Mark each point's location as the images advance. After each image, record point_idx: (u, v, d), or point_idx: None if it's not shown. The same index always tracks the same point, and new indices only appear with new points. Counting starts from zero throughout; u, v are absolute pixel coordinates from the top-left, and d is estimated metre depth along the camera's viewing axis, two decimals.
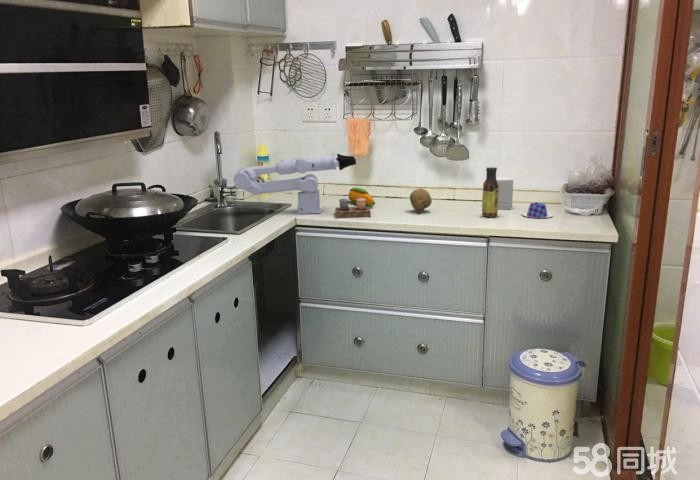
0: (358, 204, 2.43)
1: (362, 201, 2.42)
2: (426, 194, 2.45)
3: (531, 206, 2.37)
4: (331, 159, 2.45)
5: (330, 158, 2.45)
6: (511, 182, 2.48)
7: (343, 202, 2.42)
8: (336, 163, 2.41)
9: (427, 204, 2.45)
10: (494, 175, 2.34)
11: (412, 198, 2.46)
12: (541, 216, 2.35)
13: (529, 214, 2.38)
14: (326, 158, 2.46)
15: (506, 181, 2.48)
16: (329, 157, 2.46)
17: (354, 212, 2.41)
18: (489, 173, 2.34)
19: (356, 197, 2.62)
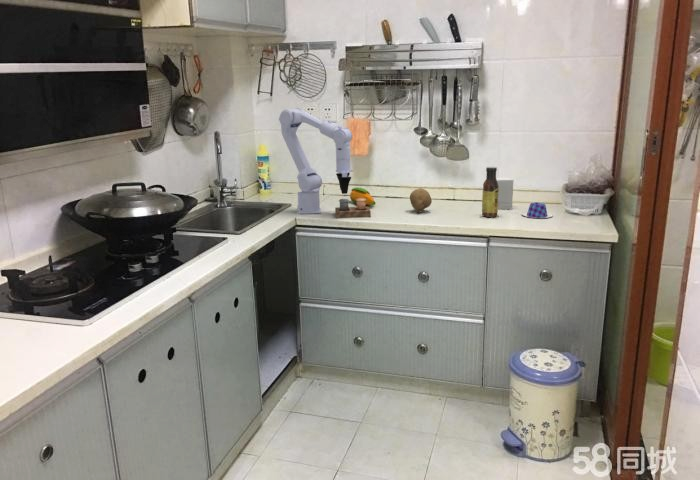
0: (358, 204, 2.43)
1: (362, 201, 2.42)
2: (426, 194, 2.45)
3: (531, 206, 2.37)
4: (347, 168, 2.38)
5: (348, 167, 2.38)
6: (511, 182, 2.48)
7: (343, 202, 2.42)
8: (345, 174, 2.33)
9: (427, 204, 2.45)
10: (494, 175, 2.34)
11: (412, 198, 2.46)
12: (541, 216, 2.35)
13: (529, 214, 2.38)
14: (348, 163, 2.38)
15: (506, 181, 2.48)
16: (349, 166, 2.39)
17: (354, 212, 2.41)
18: (489, 173, 2.34)
19: (357, 197, 2.63)
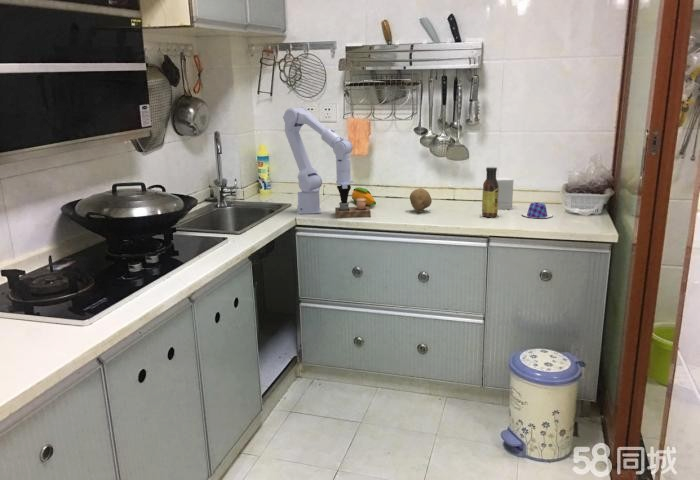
0: (358, 204, 2.43)
1: (362, 201, 2.42)
2: (426, 194, 2.45)
3: (531, 206, 2.37)
4: (348, 179, 2.39)
5: (348, 178, 2.39)
6: (511, 182, 2.48)
7: (343, 205, 2.42)
8: (346, 186, 2.35)
9: (427, 204, 2.45)
10: (494, 175, 2.34)
11: (412, 198, 2.46)
12: (540, 216, 2.35)
13: (528, 214, 2.38)
14: (349, 174, 2.39)
15: (506, 181, 2.48)
16: (349, 177, 2.40)
17: (354, 212, 2.41)
18: (489, 173, 2.34)
19: (358, 197, 2.63)
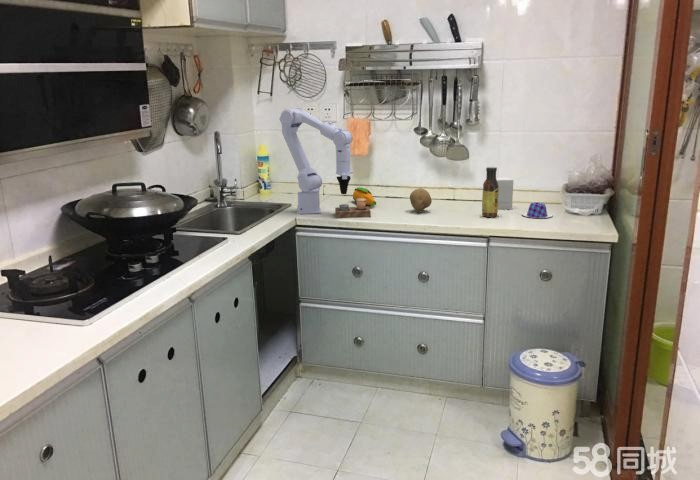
0: (358, 204, 2.43)
1: (362, 201, 2.42)
2: (426, 194, 2.45)
3: (530, 206, 2.37)
4: (347, 170, 2.38)
5: (348, 169, 2.38)
6: (511, 182, 2.48)
7: (343, 208, 2.42)
8: (345, 176, 2.34)
9: (427, 204, 2.45)
10: (494, 175, 2.34)
11: (412, 198, 2.46)
12: (540, 216, 2.35)
13: (528, 214, 2.38)
14: (349, 165, 2.38)
15: (506, 181, 2.48)
16: (349, 168, 2.39)
17: (354, 212, 2.41)
18: (489, 173, 2.34)
19: (358, 197, 2.63)
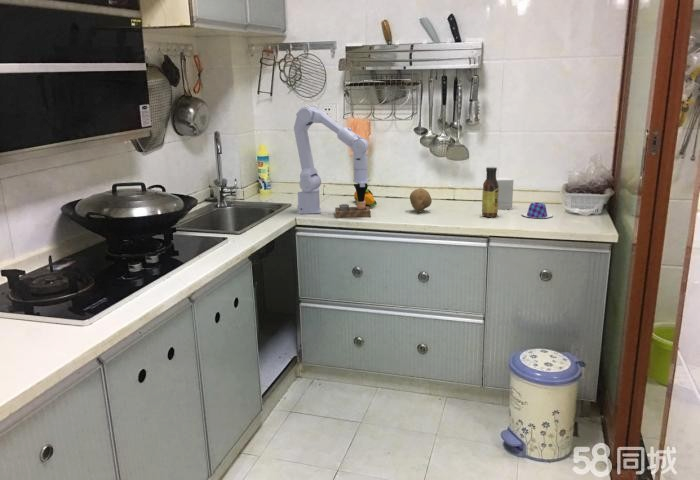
0: (358, 206, 2.43)
1: (362, 203, 2.42)
2: (426, 194, 2.45)
3: (530, 206, 2.38)
4: (365, 178, 2.39)
5: (366, 177, 2.40)
6: (511, 182, 2.48)
7: (343, 208, 2.42)
8: (363, 184, 2.35)
9: (427, 204, 2.45)
10: (494, 175, 2.34)
11: (412, 198, 2.46)
12: (539, 216, 2.35)
13: (528, 214, 2.38)
14: (366, 173, 2.39)
15: (506, 181, 2.48)
16: (366, 176, 2.40)
17: (354, 212, 2.41)
18: (489, 173, 2.34)
19: None
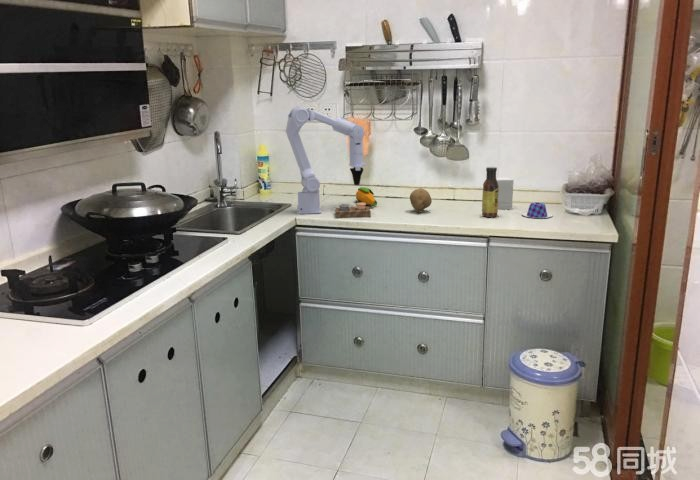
0: (358, 208, 2.43)
1: (362, 205, 2.43)
2: (426, 194, 2.45)
3: (530, 206, 2.38)
4: (360, 162, 2.51)
5: (361, 161, 2.51)
6: (511, 182, 2.48)
7: (343, 208, 2.42)
8: (359, 168, 2.46)
9: (427, 204, 2.45)
10: (494, 175, 2.34)
11: (412, 198, 2.46)
12: (539, 216, 2.35)
13: (528, 214, 2.39)
14: (361, 157, 2.51)
15: (506, 181, 2.48)
16: (362, 160, 2.51)
17: (354, 212, 2.41)
18: (489, 173, 2.34)
19: (360, 197, 2.63)
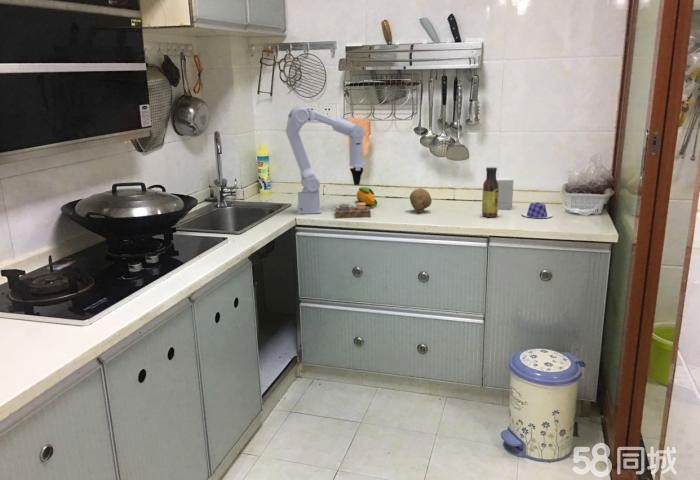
0: (358, 208, 2.43)
1: (362, 205, 2.43)
2: (426, 194, 2.45)
3: (530, 206, 2.38)
4: (360, 162, 2.51)
5: (361, 161, 2.51)
6: (511, 182, 2.48)
7: (343, 208, 2.42)
8: (359, 168, 2.46)
9: (427, 204, 2.45)
10: (494, 175, 2.34)
11: (412, 198, 2.46)
12: (538, 216, 2.35)
13: (528, 213, 2.39)
14: (361, 157, 2.51)
15: (506, 181, 2.48)
16: (362, 160, 2.51)
17: (354, 212, 2.41)
18: (489, 173, 2.34)
19: (360, 196, 2.63)
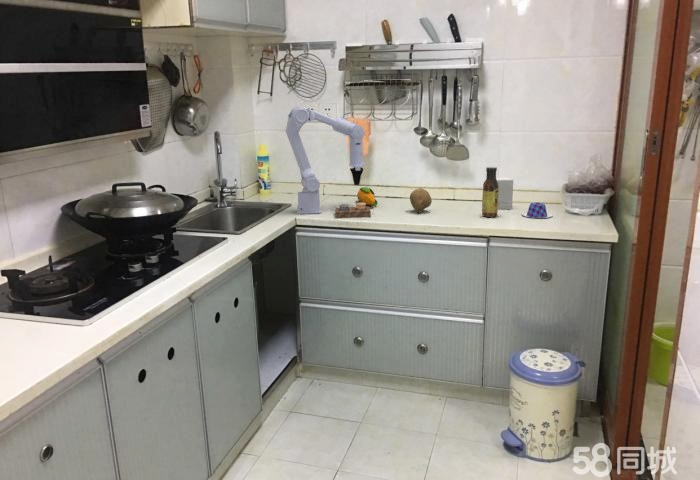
0: (358, 208, 2.43)
1: (362, 205, 2.43)
2: (426, 194, 2.45)
3: (530, 206, 2.38)
4: (360, 162, 2.51)
5: (361, 161, 2.51)
6: (511, 182, 2.48)
7: (343, 208, 2.42)
8: (359, 168, 2.46)
9: (427, 204, 2.45)
10: (494, 175, 2.34)
11: (412, 198, 2.46)
12: (538, 216, 2.35)
13: (528, 213, 2.39)
14: (361, 157, 2.51)
15: (506, 181, 2.48)
16: (362, 160, 2.51)
17: (354, 212, 2.41)
18: (489, 173, 2.34)
19: (361, 196, 2.63)
